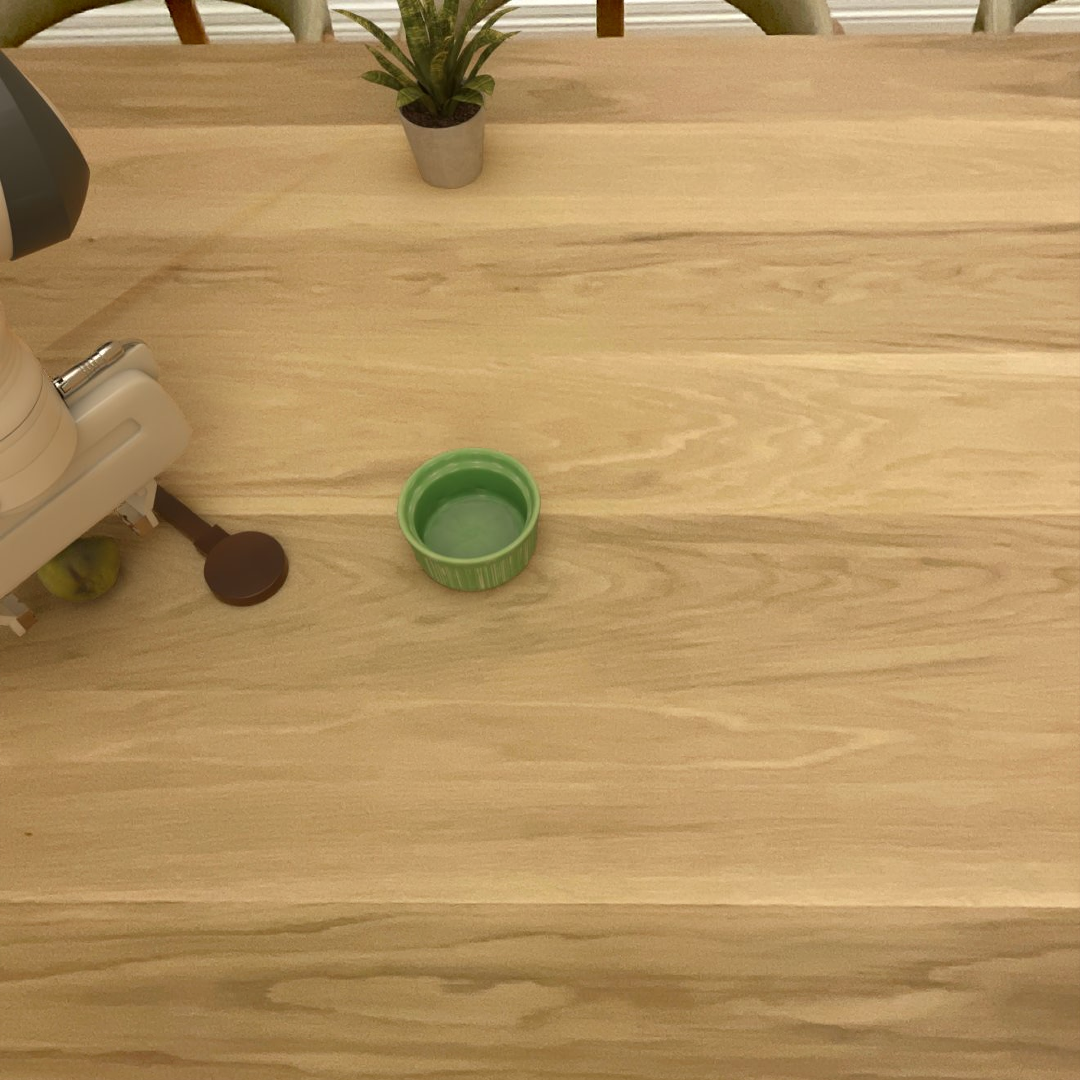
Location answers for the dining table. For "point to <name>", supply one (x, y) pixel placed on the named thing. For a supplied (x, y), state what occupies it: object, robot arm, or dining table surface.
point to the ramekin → (471, 517)
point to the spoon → (229, 555)
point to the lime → (82, 569)
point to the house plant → (439, 87)
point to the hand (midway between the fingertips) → (85, 573)
